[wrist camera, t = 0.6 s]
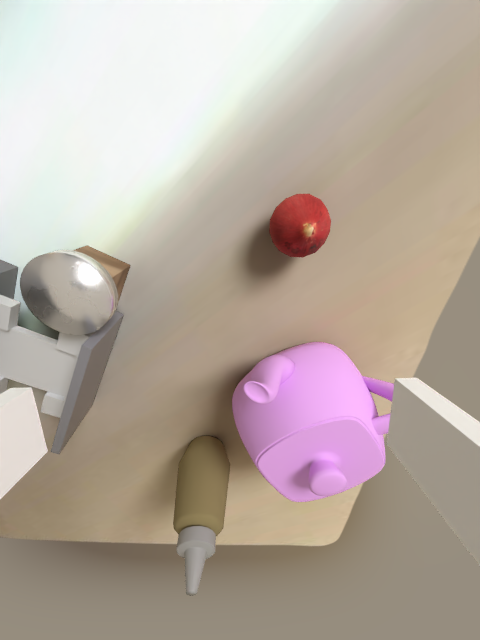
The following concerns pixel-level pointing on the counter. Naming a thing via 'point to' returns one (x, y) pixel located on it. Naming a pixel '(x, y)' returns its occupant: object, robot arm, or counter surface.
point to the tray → (55, 366)
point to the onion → (300, 225)
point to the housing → (7, 279)
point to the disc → (69, 291)
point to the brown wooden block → (109, 266)
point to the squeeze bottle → (200, 504)
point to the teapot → (311, 421)
